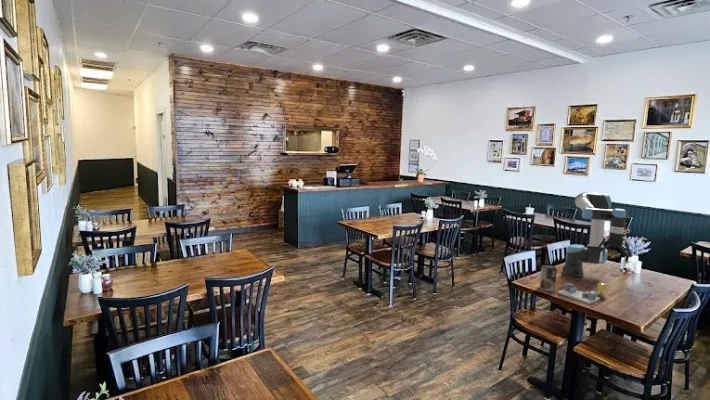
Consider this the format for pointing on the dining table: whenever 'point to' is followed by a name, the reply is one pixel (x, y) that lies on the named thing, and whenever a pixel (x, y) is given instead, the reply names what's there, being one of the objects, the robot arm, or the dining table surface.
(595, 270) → the dining table surface
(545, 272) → the coffee box
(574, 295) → the shaft bench
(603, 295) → the coupler
